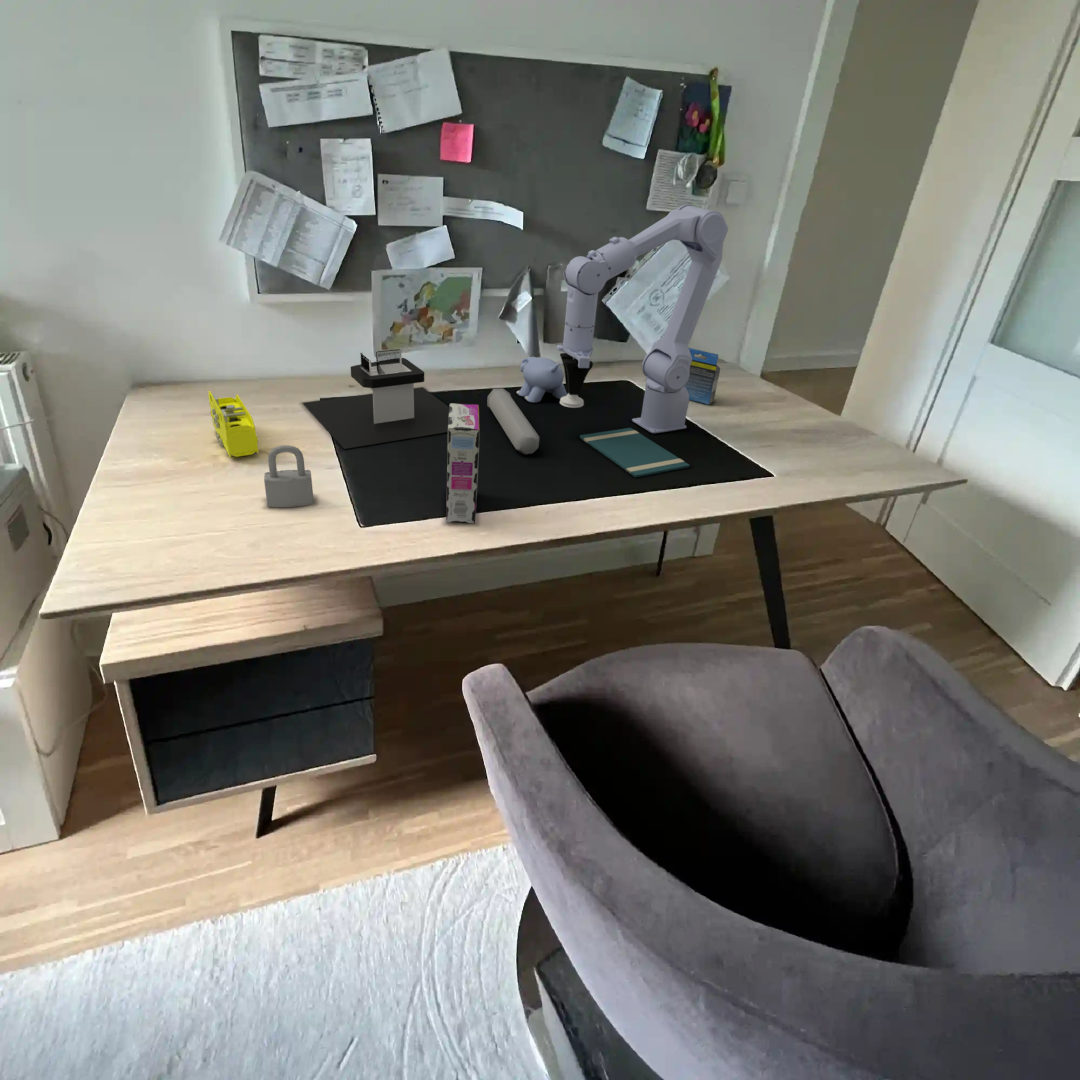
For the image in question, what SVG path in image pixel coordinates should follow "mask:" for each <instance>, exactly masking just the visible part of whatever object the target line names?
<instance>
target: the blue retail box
mask: <svg viewBox="0 0 1080 1080" xmlns="http://www.w3.org/2000/svg"><path fill="white" fill-rule="evenodd" d="M689 351H690V353H691V356H692V362H691V365H690V375H689V379H688V381H687V383H686V384H685V387H686V389H687V391H688V394H689V401H693V402H697V403H700V404H704V405H708V406H709V405H711V404H713V402H714V401H715V398H716V392H717V388H718V382H719V377H720V373H721V367H719V365H717V364H718V359H719V354H717V353H714V352H709V351H705V350H700V349H696V348H691V347H689ZM695 355H697V356H695ZM699 355H701V356H702V357H705V358H702V357H698V356H699Z"/></svg>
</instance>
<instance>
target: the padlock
mask: <svg viewBox="0 0 1080 1080" xmlns="http://www.w3.org/2000/svg"><path fill="white" fill-rule="evenodd" d="M283 453H290V454H293V455H294V456H295V460H296V468H297V469H283V470H282V469H281V470H278V469H277V455H279V454H283ZM267 463H268V471H266V472H264V474H263V475H264V476H263V478H264V479H263V482H264V489H265V498H266V504H267V507H268V508H294V507H301V506H306V505H307V506H308V505H313V504H314V503H315V501H314V490H313V480H312V470H311V469H306V467H305V459H304V454H303V452H302V451H301V450H300V449H299V447H296V446H294V445H288V444H287V445H285V444H284V445H279V446H278V445H277V446H275V447H273V448H272V449H270V451H269V452H268V455H267Z"/></svg>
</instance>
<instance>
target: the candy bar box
mask: <svg viewBox="0 0 1080 1080" xmlns="http://www.w3.org/2000/svg"><path fill="white" fill-rule="evenodd" d="M479 406H480V405H479V404H474V403H449V419H448V432H447V456H446V457H447V461H446V466H447V467H446V502H445V503H446V508H445V509H446V511H445V514H446V515H445V523H447V524H461V525H475V524H476V516H477V515H476V514H477V499H478V482H479V481H478V480H479V462H480V461H479V459H480V435H481V434H480V407H479Z"/></svg>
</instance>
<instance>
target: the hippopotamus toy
mask: <svg viewBox="0 0 1080 1080" xmlns="http://www.w3.org/2000/svg"><path fill="white" fill-rule="evenodd" d="M561 365H562V366H563V362H558V363H557V362H556V361H555V360H553V359H551V358H548V357H543V356H540V357H537V356H528V357H526V358H522V360H521V362H520V365H519V366H520V367H519V369H520V372H522V377H523V380H524V381H523V384H522V386H521V388H520V389H519V390H517V391H516V394H517V395H518V396H520V397H524V399H525V400H526V401H527V402H529V403H539V402H541V401H542V399H543V398H544V395H545V393H550V394H551V396H553V397H554V398H555V399H559V400H560V399H561V398H562V397H564V396H567V394H568V391H567V389H566V386H565V385H564V383H563V382H564V379H565V373H564V370H563V369H562V367H561Z"/></svg>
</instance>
